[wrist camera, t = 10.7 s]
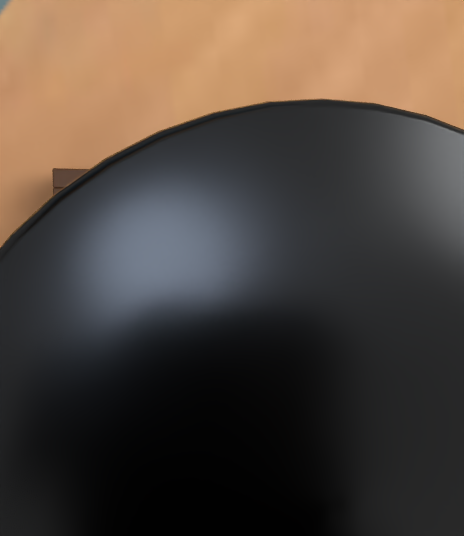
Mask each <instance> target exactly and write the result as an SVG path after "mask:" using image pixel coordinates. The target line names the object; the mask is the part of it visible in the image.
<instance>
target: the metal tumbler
mask: <svg viewBox="0 0 464 536" xmlns="http://www.w3.org/2000/svg"><path fill="white" fill-rule="evenodd" d="M0 536H464V130H463V129H460V128H458V127H455V126H452V125H450V124H447V123H445V122H442V121H440V120H437V119H435V118H432V117H429V116H427V115H423V114H419V113H414V112H410V111H406V110H401V109H397V108H393V107H388V106H384V105H380V104H375V103H367V102H355V101H343V100H331V99H305V100H288V101H270V102H263V103H258V104H253V105H248V106H243V107H238V108H233V109H228V110H223V111H218V112H213V113H210V114H207V115H204V116H201V117H198V118H195V119H192V120H190V121H187V122H184V123H181V124H178V125H175V126H172V127H169V128H167V129H164V130H161V131H158V132H156V133H154V134H152V135H150V136H148V137H146V138H144V139H142V140H140V141H138V142H136V143H135V144H133V145H131V146H129V147H127V148H125V149H123V150H121V151H119V152H117V153H115V154H113V155H111V156H109V157H107V158H105V159H104V160H102V161H101V162H99V163H98V164H97V165H95V166H94V167H92V168H91V169H89V170H88V171H87V172H85V173H84V174H82V175H81V176H79V177H78V178H77V179H75V180H74V181H72V182H71V183H69V184H68V185H66V186H65V187H64V188H62V189H61V190H59V191H58V192H56V193H55V194H54V195H53V196H52V197H51V198H50V199H49V200H48V201H47V202H46V203H44V204H43V205H42V206H41V207H40V208H39V209H38V210H37V211H36V212H35V213H34V214H33V215H31V216H30V217H29V218H28V219H27V220H26V221H25V222H24V223H23V224H22V225H21V226H20V227H18V228H17V229H16V230H15V231H14V232H13V233H12V234H11V235H10V236H9V238H8V239H7V240H6V241H5V243H4V244H3V245H2V246H1V247H0Z"/></svg>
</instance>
